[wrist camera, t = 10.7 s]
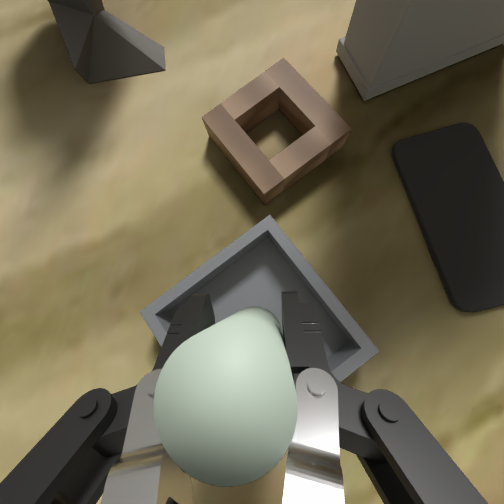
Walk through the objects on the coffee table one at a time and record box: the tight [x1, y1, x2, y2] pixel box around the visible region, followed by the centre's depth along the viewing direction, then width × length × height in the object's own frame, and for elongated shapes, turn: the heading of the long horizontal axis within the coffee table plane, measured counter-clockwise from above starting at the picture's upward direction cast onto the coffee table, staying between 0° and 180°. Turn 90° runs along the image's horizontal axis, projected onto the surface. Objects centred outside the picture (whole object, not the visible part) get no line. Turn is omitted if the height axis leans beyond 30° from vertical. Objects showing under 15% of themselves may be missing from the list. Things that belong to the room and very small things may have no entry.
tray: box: [140, 215, 380, 382], centre depth 18 cm, size 12×12×4 cm
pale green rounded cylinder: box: [154, 306, 298, 487], centre depth 11 cm, size 4×4×10 cm
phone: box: [392, 123, 504, 312], centre depth 20 cm, size 7×1×15 cm
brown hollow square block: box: [202, 58, 352, 205], centre depth 21 cm, size 9×9×2 cm
